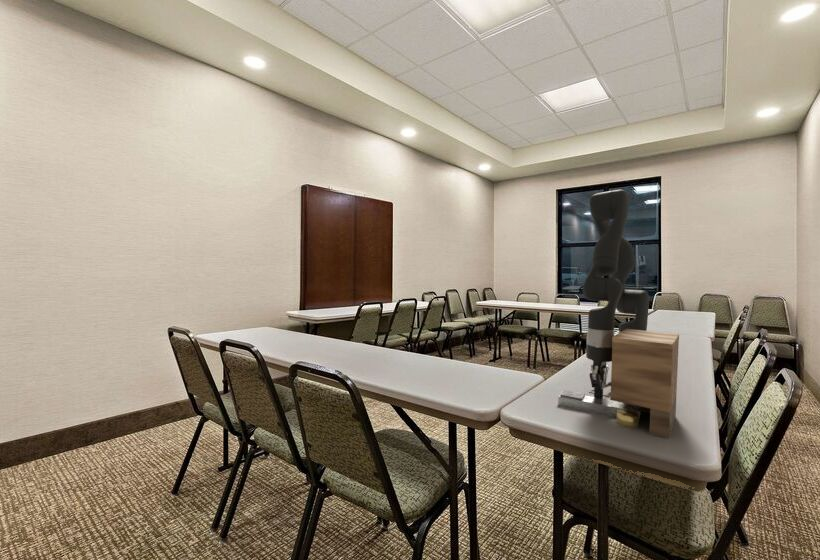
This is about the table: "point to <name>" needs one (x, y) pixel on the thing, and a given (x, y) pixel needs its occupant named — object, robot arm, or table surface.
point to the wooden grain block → (647, 375)
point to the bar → (594, 403)
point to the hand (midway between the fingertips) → (598, 400)
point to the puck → (627, 418)
